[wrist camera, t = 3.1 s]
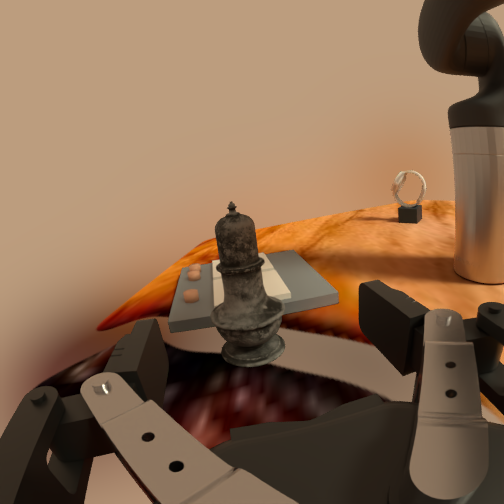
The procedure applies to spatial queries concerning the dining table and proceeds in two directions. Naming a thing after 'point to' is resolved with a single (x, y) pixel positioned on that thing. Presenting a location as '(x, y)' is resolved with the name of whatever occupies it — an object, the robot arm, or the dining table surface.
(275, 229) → the dining table surface
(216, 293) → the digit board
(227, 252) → the salt shaker
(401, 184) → the watch
